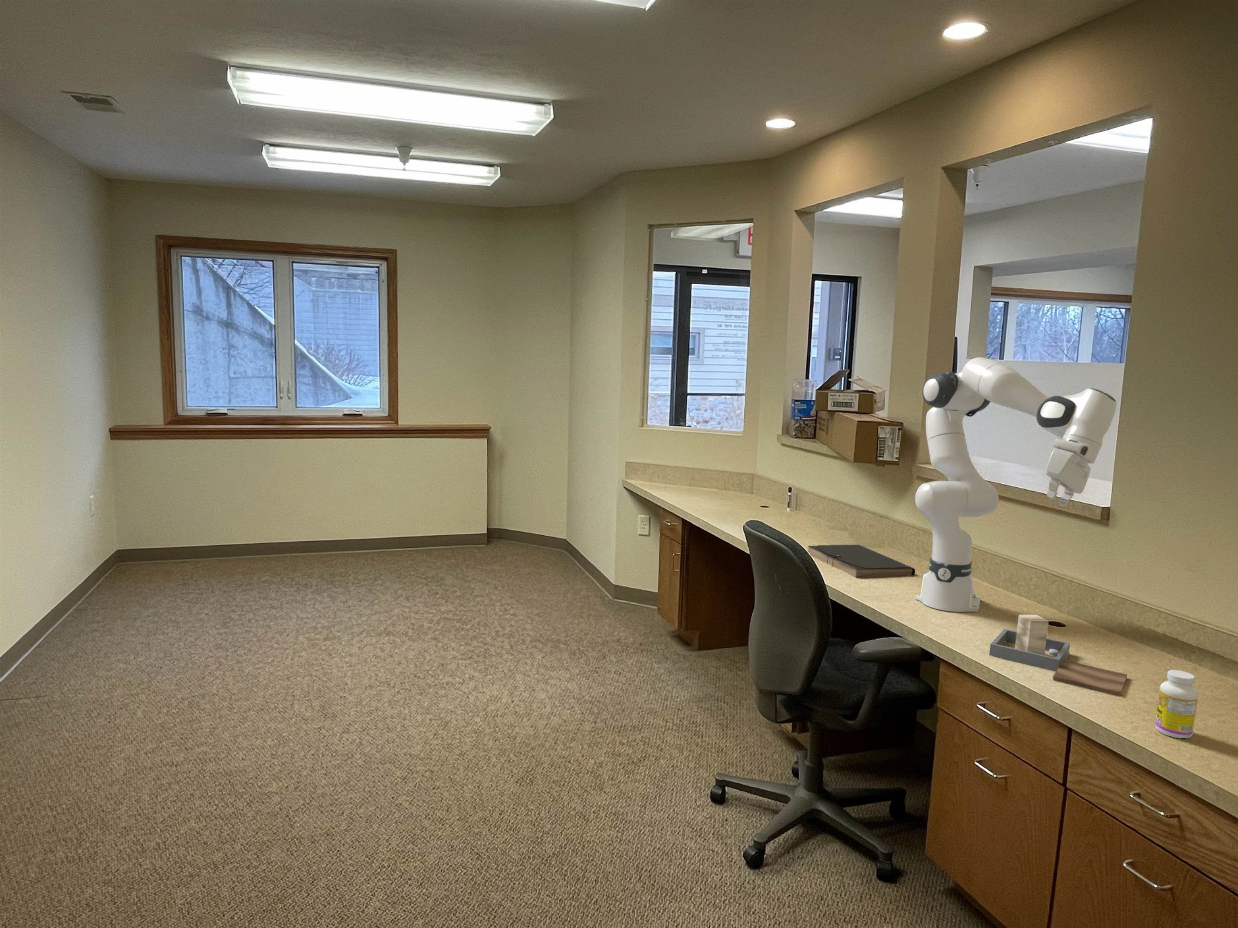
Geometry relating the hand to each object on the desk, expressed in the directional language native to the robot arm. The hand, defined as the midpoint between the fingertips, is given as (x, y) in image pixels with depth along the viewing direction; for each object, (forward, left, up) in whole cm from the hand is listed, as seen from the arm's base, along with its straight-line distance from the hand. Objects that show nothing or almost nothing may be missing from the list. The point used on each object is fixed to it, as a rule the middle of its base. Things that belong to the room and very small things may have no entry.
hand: (1056, 501), depth 209 cm
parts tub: (+2, -2, -41) cm, 41 cm away
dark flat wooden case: (-56, -70, -41) cm, 99 cm away
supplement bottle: (+31, +31, -41) cm, 60 cm away
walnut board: (+10, +13, -41) cm, 44 cm away
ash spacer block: (+2, -2, -41) cm, 41 cm away
